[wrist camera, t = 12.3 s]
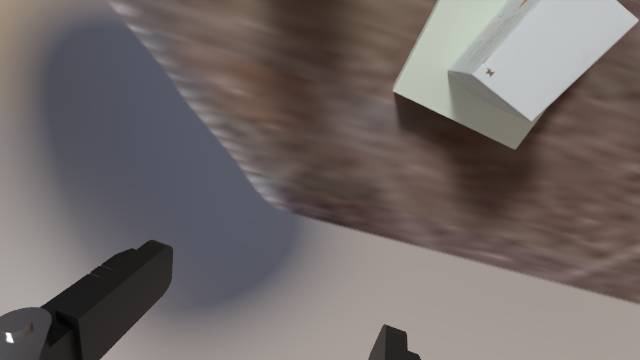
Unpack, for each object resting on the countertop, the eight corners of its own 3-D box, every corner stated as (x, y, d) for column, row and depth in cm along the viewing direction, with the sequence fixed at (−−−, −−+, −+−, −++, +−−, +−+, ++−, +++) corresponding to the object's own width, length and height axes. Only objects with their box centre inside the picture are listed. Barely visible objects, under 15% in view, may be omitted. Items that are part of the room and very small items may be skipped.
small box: (488, 105, 31) (530, 126, 22) (445, 70, 31) (468, 76, 21) (559, 32, 28) (645, 20, 18) (512, -7, 28) (574, -41, 18)
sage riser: (459, -42, 32) (471, -62, 27) (584, 15, 32) (623, 7, 26) (393, 86, 38) (392, 90, 33) (497, 136, 38) (515, 149, 32)
